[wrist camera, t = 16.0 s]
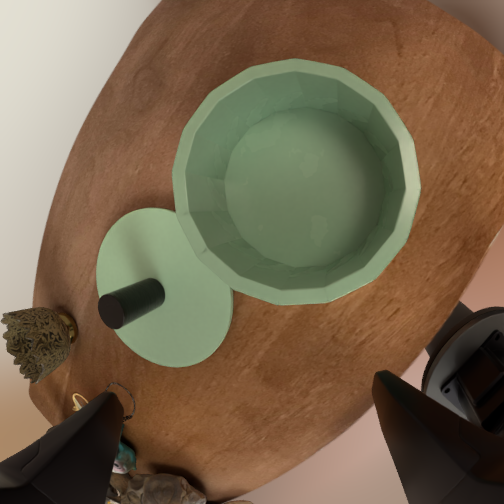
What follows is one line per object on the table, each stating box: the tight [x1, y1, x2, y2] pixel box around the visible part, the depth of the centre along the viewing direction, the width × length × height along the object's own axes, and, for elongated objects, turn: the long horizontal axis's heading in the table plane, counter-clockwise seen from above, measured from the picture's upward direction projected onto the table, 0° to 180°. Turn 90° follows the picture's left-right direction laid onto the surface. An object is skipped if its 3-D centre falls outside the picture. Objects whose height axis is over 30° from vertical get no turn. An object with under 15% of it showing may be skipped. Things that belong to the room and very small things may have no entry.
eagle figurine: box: [106, 472, 132, 504], centre depth 27 cm, size 8×7×9 cm
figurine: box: [112, 424, 137, 473], centre depth 25 cm, size 12×9×8 cm
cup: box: [1, 307, 78, 384], centre depth 23 cm, size 8×7×8 cm
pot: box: [172, 58, 421, 305], centre depth 15 cm, size 12×12×6 cm
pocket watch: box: [73, 393, 89, 411], centre depth 30 cm, size 6×4×1 cm, turn 128°
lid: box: [96, 208, 233, 367], centre depth 20 cm, size 13×13×6 cm
